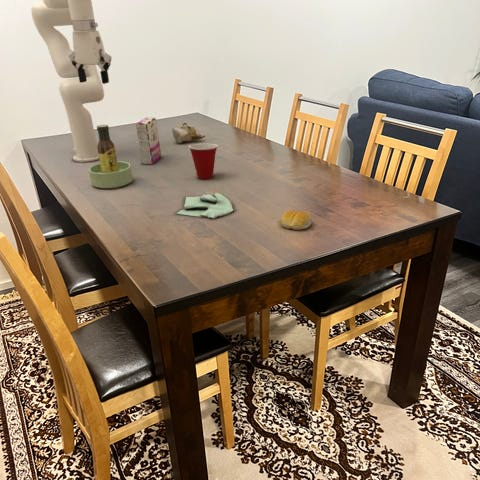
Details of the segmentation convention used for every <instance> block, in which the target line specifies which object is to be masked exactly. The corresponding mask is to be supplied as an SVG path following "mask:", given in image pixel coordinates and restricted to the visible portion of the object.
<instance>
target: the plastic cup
mask: <svg viewBox="0 0 480 480" xmlns="http://www.w3.org/2000/svg"><path fill="white" fill-rule="evenodd" d="M218 146H219V145H218V144H216V143H210V142H209V143H206V142H205V143H203V142H202V143H195V144H194V143H193V144H189V145H188V148H189V150H190V155H191V157H192V160H193V165H194V169H195V172H196V176H197V178H198V179H199V180H211V179H212V178H213V177H214V172H215V171H214V170H215V163H216V153H217V148H218Z"/></svg>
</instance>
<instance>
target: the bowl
mask: <svg viewBox="0 0 480 480" xmlns="http://www.w3.org/2000/svg"><path fill="white" fill-rule="evenodd" d="M117 163H118V169H119V171H118V172H113V173H102V171H101V165H100V162H99V163H95V164H93V165H91V166H90V167H88V175H89V180H90V184H91V185H92V186H93V187H95V188H101V189H115V188H120V187H124V186H126V185H128V184H130V183H131V182H133V181H134V178H133V171H132V166H131V163H129V162H127V161H120V160H117Z"/></svg>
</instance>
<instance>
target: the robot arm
mask: <svg viewBox="0 0 480 480" xmlns="http://www.w3.org/2000/svg"><path fill="white" fill-rule="evenodd" d="M92 1H93V0H41V1H38V2H35V3H33V4H32V6H31V9H30V11H31V17H32V20H33V24H34V26H35V28H36V30H37V32H38V34H39V36H41V38H42V40H43V41H44V43H45V45H46V46H47V50H48V52H49V55H50V58H51V61H52V64H53V66H54V67H53V68H54V69H55V72H56V73H57V75H58V77H60V78H62V79H65V80H62V81H61V82H60V83H59V86H58V91H59V95H60V97H61V100H62V103H63V105H64V109H65V111H66V116H67V120H68V124H69V125H68V126H69V128H70V133H71V137H72V138H71V139H72V141H73V146H74V147H73V148H72V151H73V152H75V155H73V157H72V158H73V161H75V162H79V163H87V162H94V161H98V160H99V154H98V147H97V145H98V142H97V139H96V133H95V129H94V123H93V118H92V115H91V112H90V111H89V110H88V109H87V108H86V107H85V106H84V104H85V105H86V104H89V103H96V102H101V101H102V100H104V98H105V90H104V87H103V85H106V84H108V83H110V78H109V72H108V70H109V69H110V67H111V62H112V59H113V58H112V56H111V55H110V54H108V53H107V52H105V51H106V50H105V47H104V42H103V39H102V36H101V33H100V31H99V30H97V28H98V26H99V24H98V22H96V20H95V14H94V8H93V2H92ZM65 26H72V30H73V31H72V48H73V50H72V48H71V46H70V43H69V41H68V38H67V37H66V36H65V35H64V34H63V33H62V32H60V31H59V30H58V29H57V28H55V27H65ZM96 65H97V66H98V68H99V69H100V71H98V68H97V66H96ZM99 72H100V74H99Z"/></svg>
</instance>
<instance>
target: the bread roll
mask: <svg viewBox="0 0 480 480" xmlns="http://www.w3.org/2000/svg"><path fill="white" fill-rule="evenodd" d="M312 222H313V219H312V217H311V215H310V214H308V213H307V212H305V211H299V212H298V211H296V210H288V211H286V212H284V213H283V214H282V215H281V218H280V223H281V226H283V227H284V228H286V229H290V230H291V229H292V230H295V231H300V230H301V231H302V230H305V229H308V228H309V227H310V226H311V225H312Z"/></svg>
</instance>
